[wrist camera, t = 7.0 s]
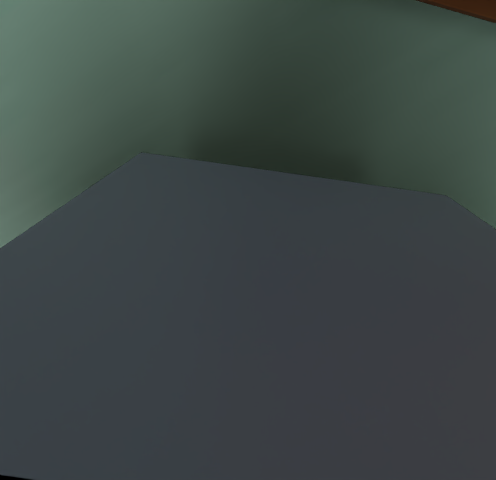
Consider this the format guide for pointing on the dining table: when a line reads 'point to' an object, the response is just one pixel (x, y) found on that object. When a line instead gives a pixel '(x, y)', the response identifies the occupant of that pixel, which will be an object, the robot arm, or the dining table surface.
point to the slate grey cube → (248, 331)
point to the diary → (469, 7)
